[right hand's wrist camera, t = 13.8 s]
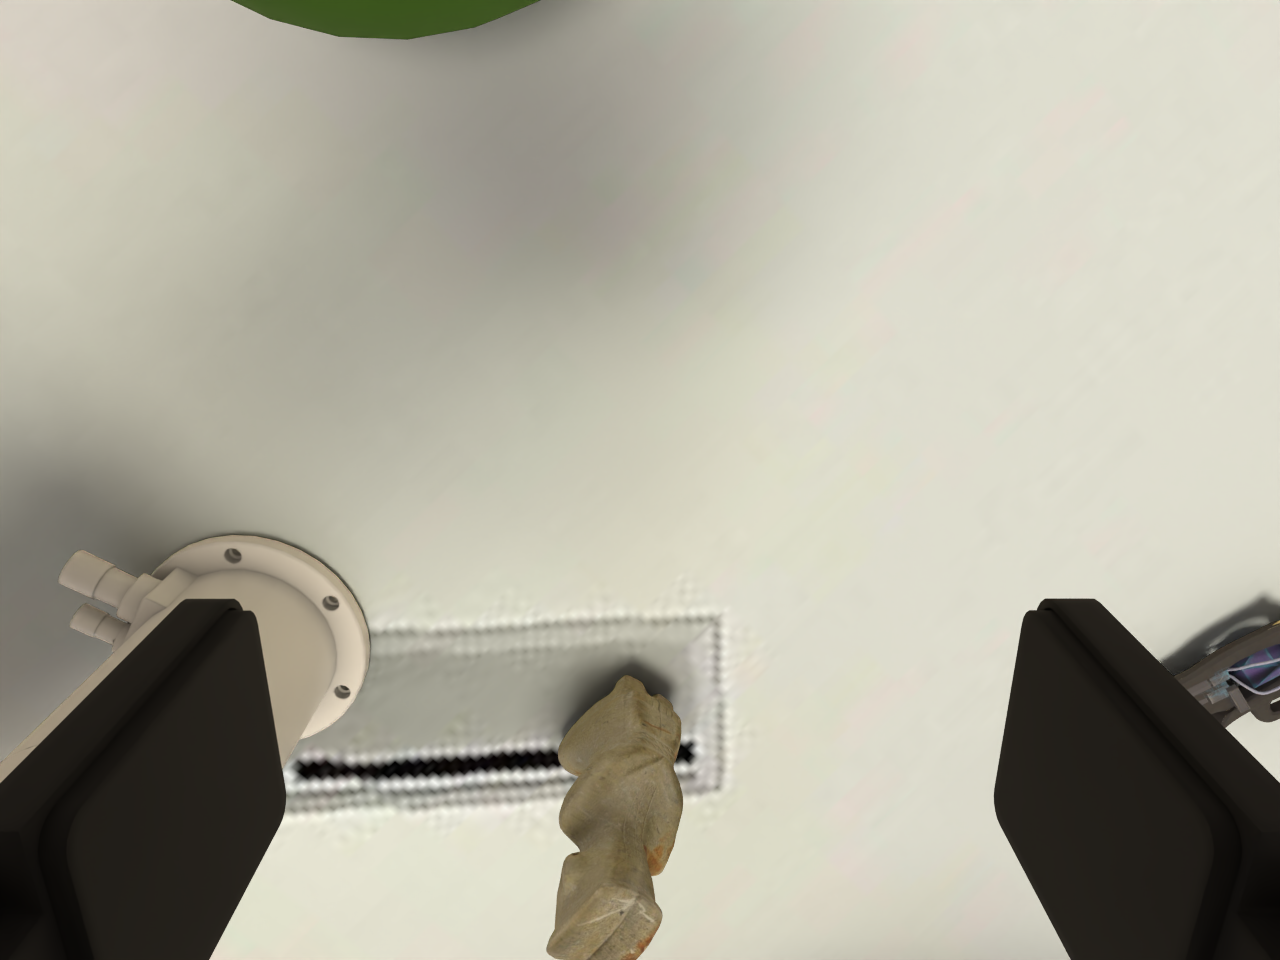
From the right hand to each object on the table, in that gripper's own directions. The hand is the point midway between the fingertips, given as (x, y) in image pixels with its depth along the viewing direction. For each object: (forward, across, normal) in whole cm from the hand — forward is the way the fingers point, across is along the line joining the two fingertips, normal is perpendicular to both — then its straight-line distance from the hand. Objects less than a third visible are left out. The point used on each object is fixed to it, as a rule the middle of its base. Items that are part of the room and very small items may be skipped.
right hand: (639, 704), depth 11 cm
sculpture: (+35, -1, -24) cm, 42 cm away
